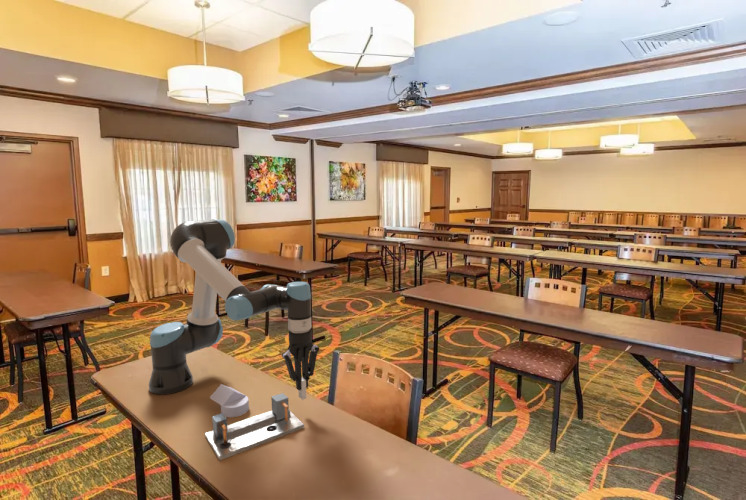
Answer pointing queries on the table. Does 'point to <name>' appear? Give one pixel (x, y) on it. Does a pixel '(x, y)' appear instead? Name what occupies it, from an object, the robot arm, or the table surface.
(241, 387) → the table surface
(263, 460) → the table surface
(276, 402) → the slider
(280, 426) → the bolt plate
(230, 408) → the wedge on round base
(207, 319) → the robot arm
